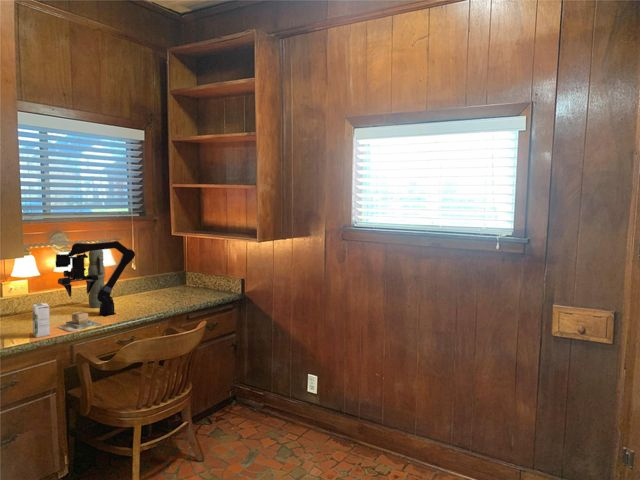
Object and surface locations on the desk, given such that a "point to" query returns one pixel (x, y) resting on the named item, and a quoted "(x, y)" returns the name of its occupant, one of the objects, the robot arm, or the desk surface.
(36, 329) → the syrup box
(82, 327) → the socket plate
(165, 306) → the desk surface
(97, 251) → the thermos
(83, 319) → the plug block
